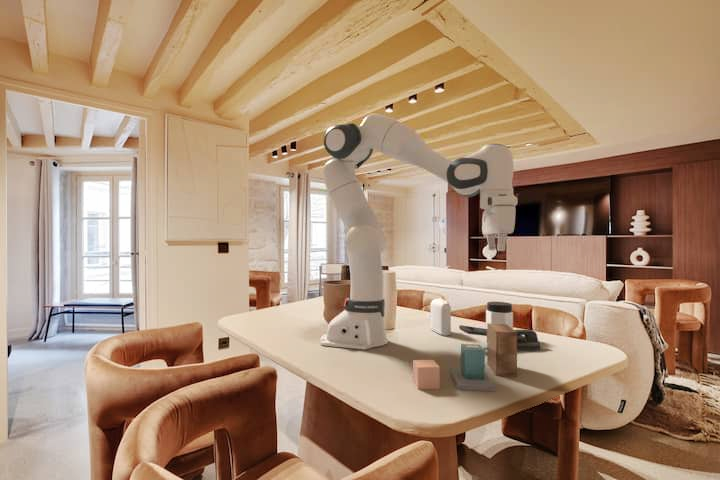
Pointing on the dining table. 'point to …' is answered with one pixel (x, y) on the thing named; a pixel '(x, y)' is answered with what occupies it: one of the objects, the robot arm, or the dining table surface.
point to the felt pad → (470, 381)
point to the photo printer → (440, 317)
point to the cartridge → (472, 362)
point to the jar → (499, 313)
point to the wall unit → (502, 349)
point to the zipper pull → (523, 343)
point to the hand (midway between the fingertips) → (496, 250)
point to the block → (426, 374)
